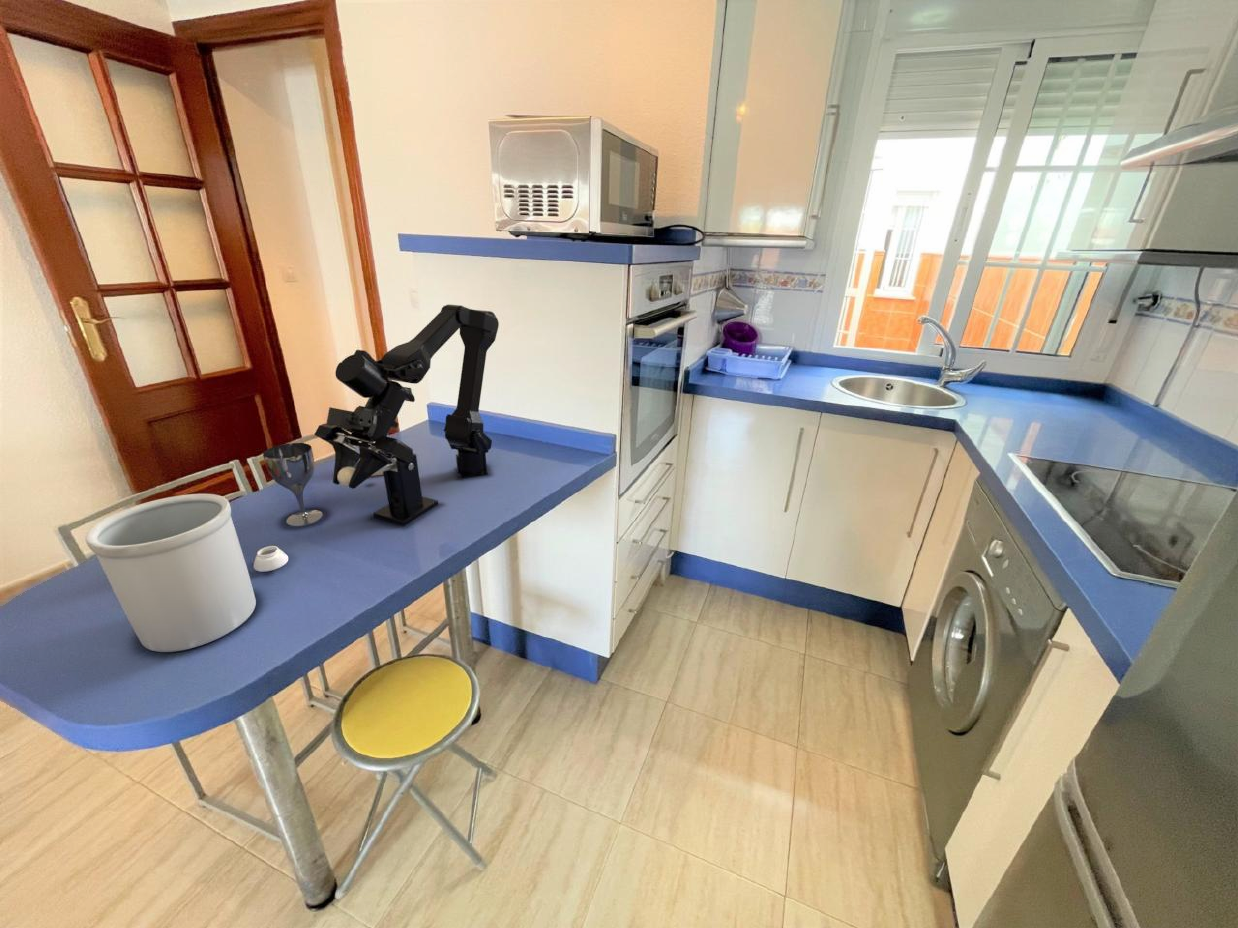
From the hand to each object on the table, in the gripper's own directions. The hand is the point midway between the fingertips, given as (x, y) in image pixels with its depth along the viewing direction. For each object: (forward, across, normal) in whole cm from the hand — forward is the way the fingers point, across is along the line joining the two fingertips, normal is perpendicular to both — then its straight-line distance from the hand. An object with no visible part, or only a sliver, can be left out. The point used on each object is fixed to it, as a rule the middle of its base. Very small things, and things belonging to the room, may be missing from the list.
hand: (343, 485), depth 90 cm
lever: (-4, 0, +6) cm, 7 cm away
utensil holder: (+26, -4, -9) cm, 28 cm away
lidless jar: (+17, -7, +1) cm, 18 cm away
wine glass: (+7, -16, +10) cm, 20 cm away
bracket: (-1, 0, +18) cm, 18 cm away
